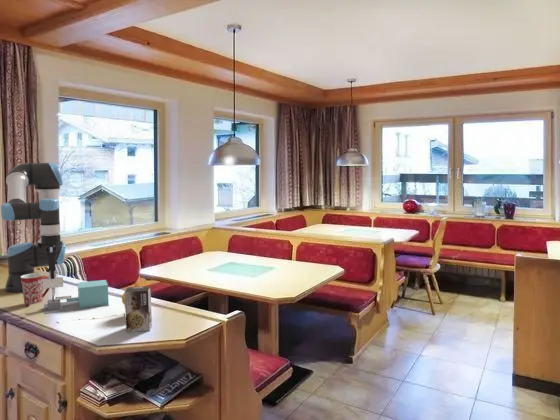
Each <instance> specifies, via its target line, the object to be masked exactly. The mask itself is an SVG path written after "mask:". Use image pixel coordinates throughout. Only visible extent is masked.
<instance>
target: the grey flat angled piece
mask: <svg viewBox="0 0 560 420" xmlns="http://www.w3.org/2000/svg"><path fill="white" fill-rule="evenodd" d="M42 280H43V283H42V290H44V289H45V290H46V289H47V288H50V289H51V296H52V297H51V299H52V300H60V301H61V300H62V301H63V300H66V299H71V298H72V295H64V296H57V297H56V288H63V287H64V277H63V276H60V277H57V276H56V286H50V287H49V278H46V279H42Z"/></svg>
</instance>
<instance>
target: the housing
mask: <svg viewBox="0 0 560 420" xmlns="http://www.w3.org/2000/svg"><path fill="white" fill-rule="evenodd" d="M46 302H47V303H44V306H43V315H48V314H49V315H51V314H57V313H65V312H73V311H81V310H88V309H97V308H104V307H109V306H110V305H109V304H108V305H100V306H92V307H84V308H79V301H71V302H67V301H61V300H52V298H51V299H47V301H46Z"/></svg>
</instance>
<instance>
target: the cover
mask: <svg viewBox="0 0 560 420" xmlns="http://www.w3.org/2000/svg"><path fill="white" fill-rule="evenodd" d="M77 292H78V293H77V294H78V296H77V297H71V299H65V300H66V302H71V301H79V308H84V307H92V306H100V305H108V304H109V284H108V282H107V280H106V279H101V280H100V279H99V280H90V281H83V282H77Z"/></svg>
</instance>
